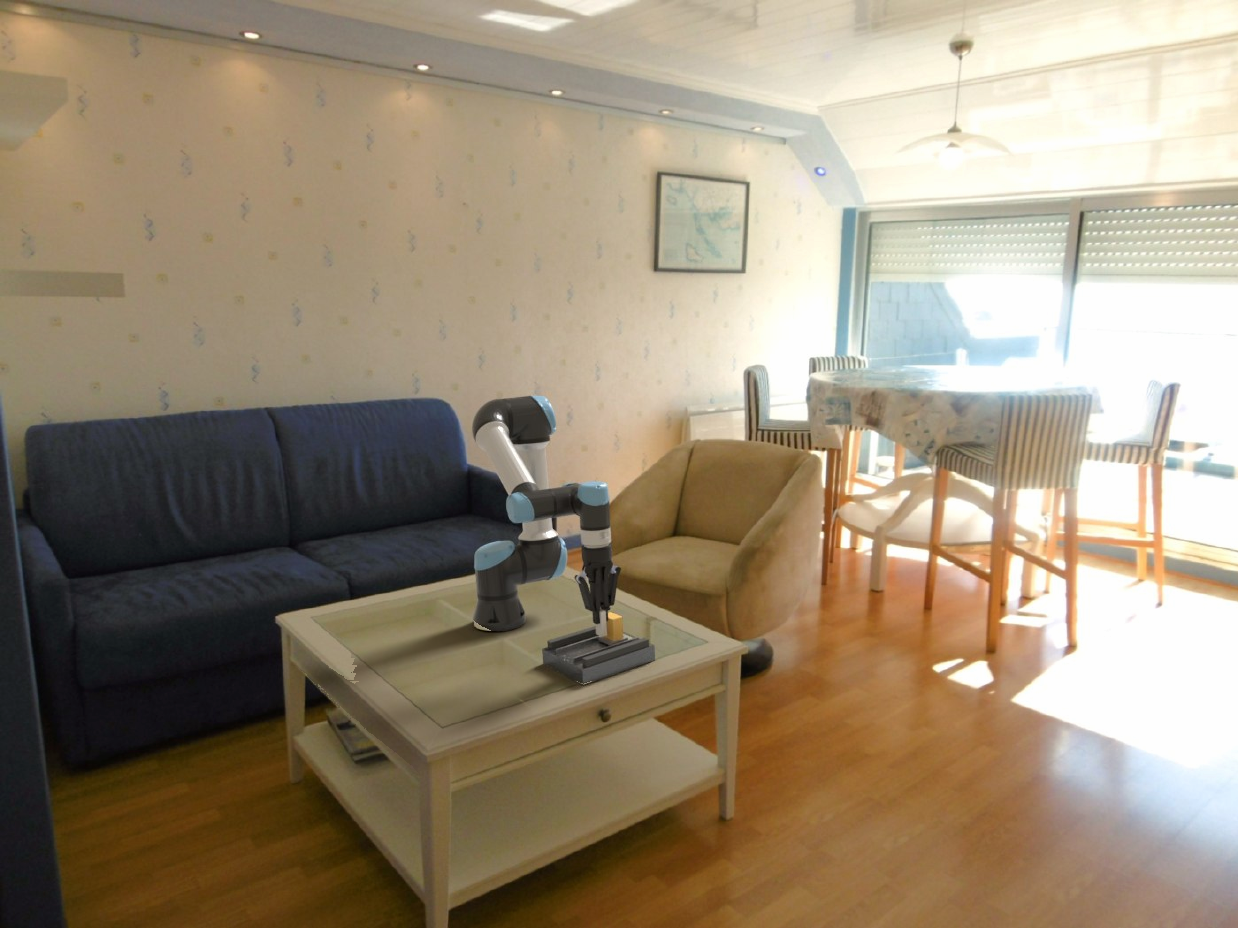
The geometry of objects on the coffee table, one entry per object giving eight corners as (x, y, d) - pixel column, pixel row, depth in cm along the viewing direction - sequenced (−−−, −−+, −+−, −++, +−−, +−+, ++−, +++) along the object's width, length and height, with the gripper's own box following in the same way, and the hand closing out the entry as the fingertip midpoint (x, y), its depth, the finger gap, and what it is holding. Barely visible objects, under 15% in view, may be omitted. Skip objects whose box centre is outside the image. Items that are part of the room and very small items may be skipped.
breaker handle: (598, 640, 225) (597, 615, 224) (614, 635, 228) (612, 610, 227) (612, 646, 220) (610, 621, 219) (628, 641, 223) (626, 616, 222)
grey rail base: (543, 663, 223) (541, 644, 222) (612, 641, 235) (611, 623, 235) (583, 685, 208) (582, 665, 207) (655, 660, 221) (654, 641, 220)
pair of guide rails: (547, 647, 223) (547, 640, 222) (608, 628, 234) (607, 622, 233) (586, 667, 209) (586, 660, 208) (649, 646, 220) (648, 639, 220)
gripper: (583, 552, 211) (588, 645, 215) (626, 541, 218) (631, 632, 222) (566, 546, 217) (571, 637, 221) (608, 536, 224) (613, 624, 228)
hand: (601, 634), depth 221 cm, fingers closed
